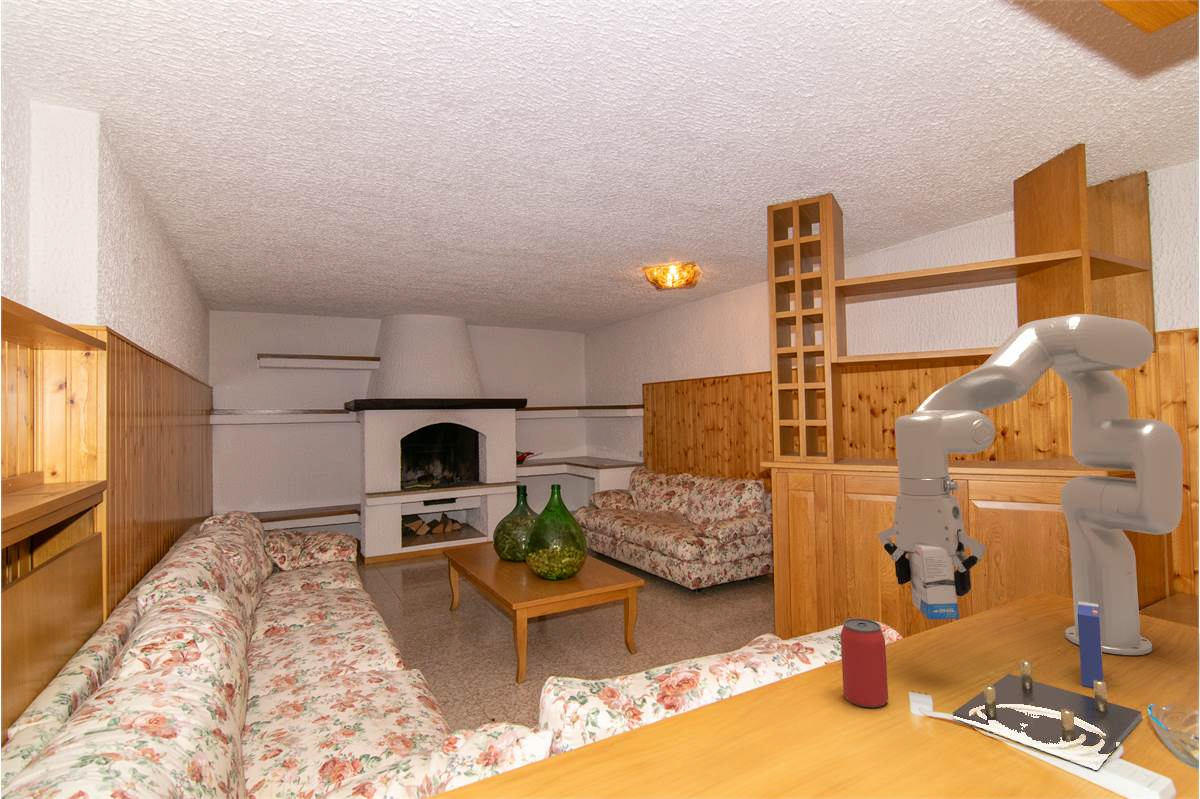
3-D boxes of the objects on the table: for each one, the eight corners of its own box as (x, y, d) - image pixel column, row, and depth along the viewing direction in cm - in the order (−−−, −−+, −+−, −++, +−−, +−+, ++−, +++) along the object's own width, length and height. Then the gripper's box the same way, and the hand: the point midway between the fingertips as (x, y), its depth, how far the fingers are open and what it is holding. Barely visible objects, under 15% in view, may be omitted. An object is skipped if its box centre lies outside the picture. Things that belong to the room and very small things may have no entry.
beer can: (888, 693, 98) (884, 619, 98) (888, 712, 92) (884, 633, 92) (844, 687, 101) (841, 615, 101) (842, 705, 95) (838, 628, 95)
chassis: (1009, 679, 101) (1007, 649, 101) (1142, 718, 87) (1139, 683, 87) (953, 718, 89) (951, 684, 89) (1096, 771, 76) (1094, 730, 76)
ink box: (960, 620, 97) (954, 547, 97) (927, 620, 98) (921, 548, 98) (941, 602, 106) (936, 535, 106) (911, 602, 107) (905, 536, 107)
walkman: (1104, 690, 96) (1099, 614, 96) (1081, 685, 98) (1077, 611, 98) (1103, 672, 102) (1098, 601, 102) (1082, 668, 104) (1077, 598, 104)
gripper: (990, 487, 97) (999, 593, 97) (886, 481, 111) (894, 574, 111) (969, 493, 93) (978, 605, 93) (864, 486, 107) (871, 583, 107)
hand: (932, 588), depth 102 cm, fingers closed on ink box, 9 cm apart
